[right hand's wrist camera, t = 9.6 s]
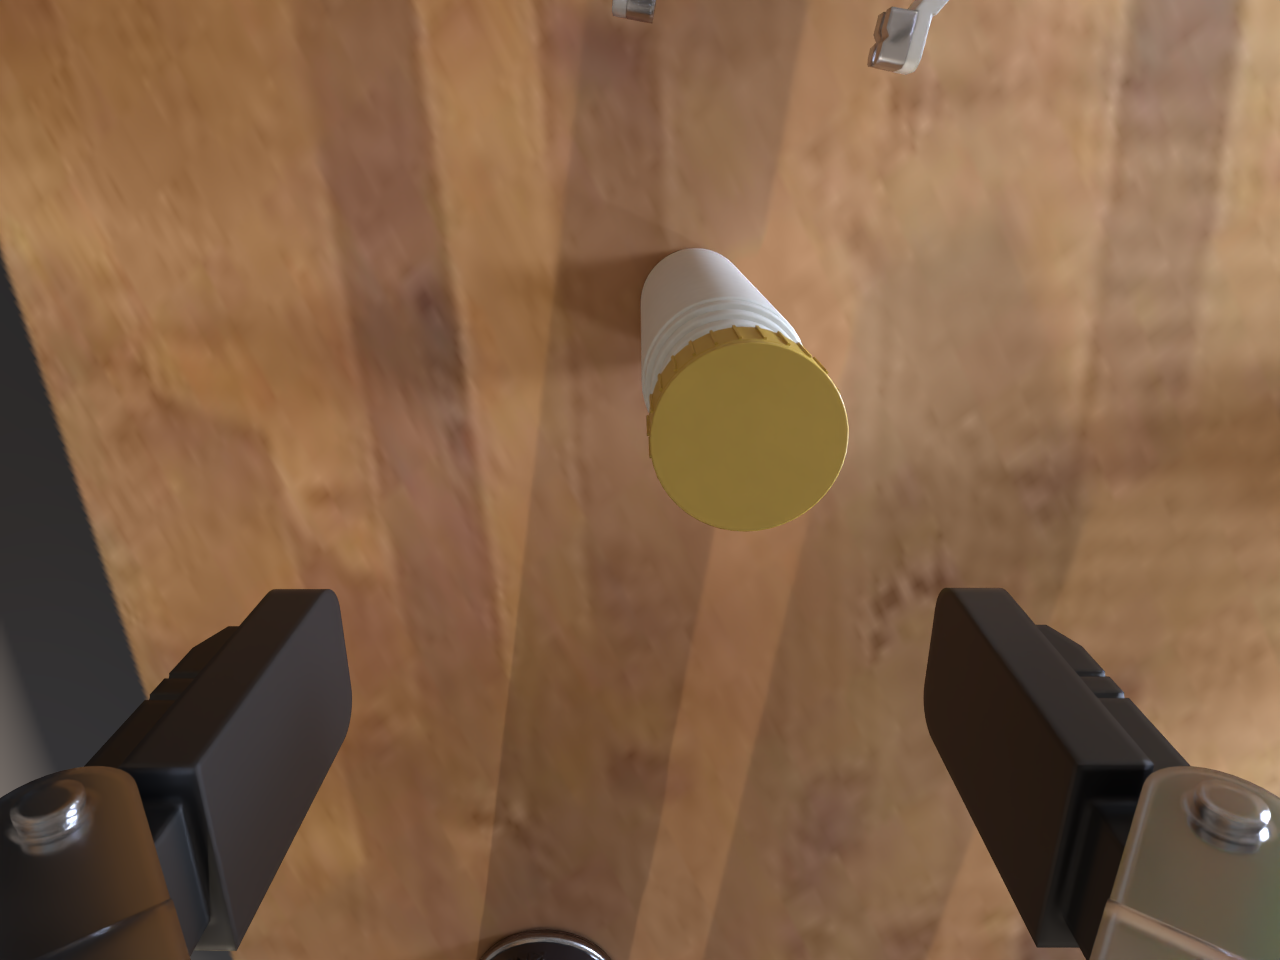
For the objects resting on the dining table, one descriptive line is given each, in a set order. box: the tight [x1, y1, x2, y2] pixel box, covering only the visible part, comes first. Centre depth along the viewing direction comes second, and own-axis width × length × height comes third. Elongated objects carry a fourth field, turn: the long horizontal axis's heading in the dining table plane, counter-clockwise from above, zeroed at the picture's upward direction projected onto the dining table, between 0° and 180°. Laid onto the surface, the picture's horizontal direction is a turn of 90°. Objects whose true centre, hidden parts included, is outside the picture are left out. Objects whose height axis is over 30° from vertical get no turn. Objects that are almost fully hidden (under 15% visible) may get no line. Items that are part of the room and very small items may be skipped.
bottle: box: [641, 248, 803, 412], centre depth 30 cm, size 5×5×21 cm
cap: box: [647, 325, 848, 531], centre depth 21 cm, size 5×5×2 cm
